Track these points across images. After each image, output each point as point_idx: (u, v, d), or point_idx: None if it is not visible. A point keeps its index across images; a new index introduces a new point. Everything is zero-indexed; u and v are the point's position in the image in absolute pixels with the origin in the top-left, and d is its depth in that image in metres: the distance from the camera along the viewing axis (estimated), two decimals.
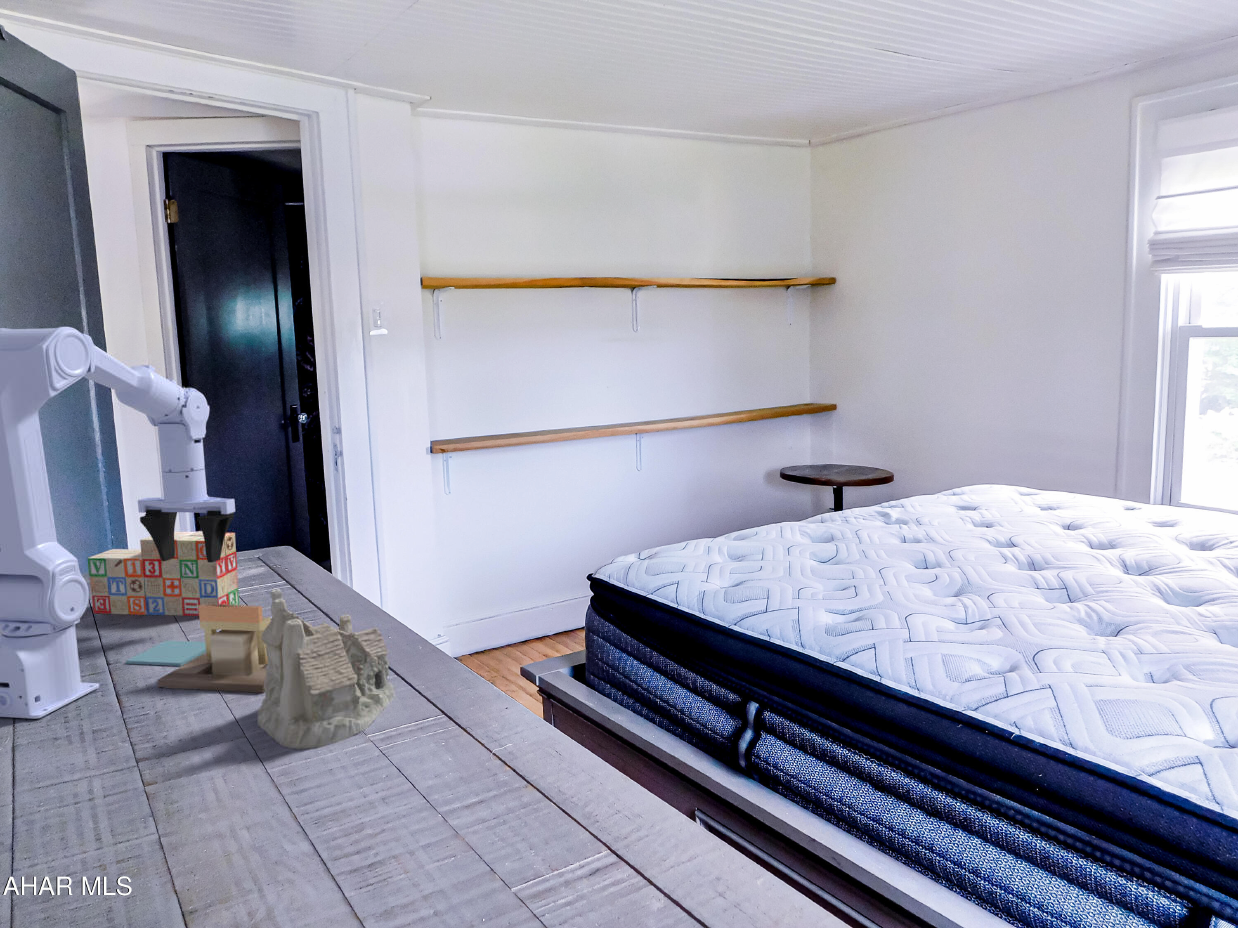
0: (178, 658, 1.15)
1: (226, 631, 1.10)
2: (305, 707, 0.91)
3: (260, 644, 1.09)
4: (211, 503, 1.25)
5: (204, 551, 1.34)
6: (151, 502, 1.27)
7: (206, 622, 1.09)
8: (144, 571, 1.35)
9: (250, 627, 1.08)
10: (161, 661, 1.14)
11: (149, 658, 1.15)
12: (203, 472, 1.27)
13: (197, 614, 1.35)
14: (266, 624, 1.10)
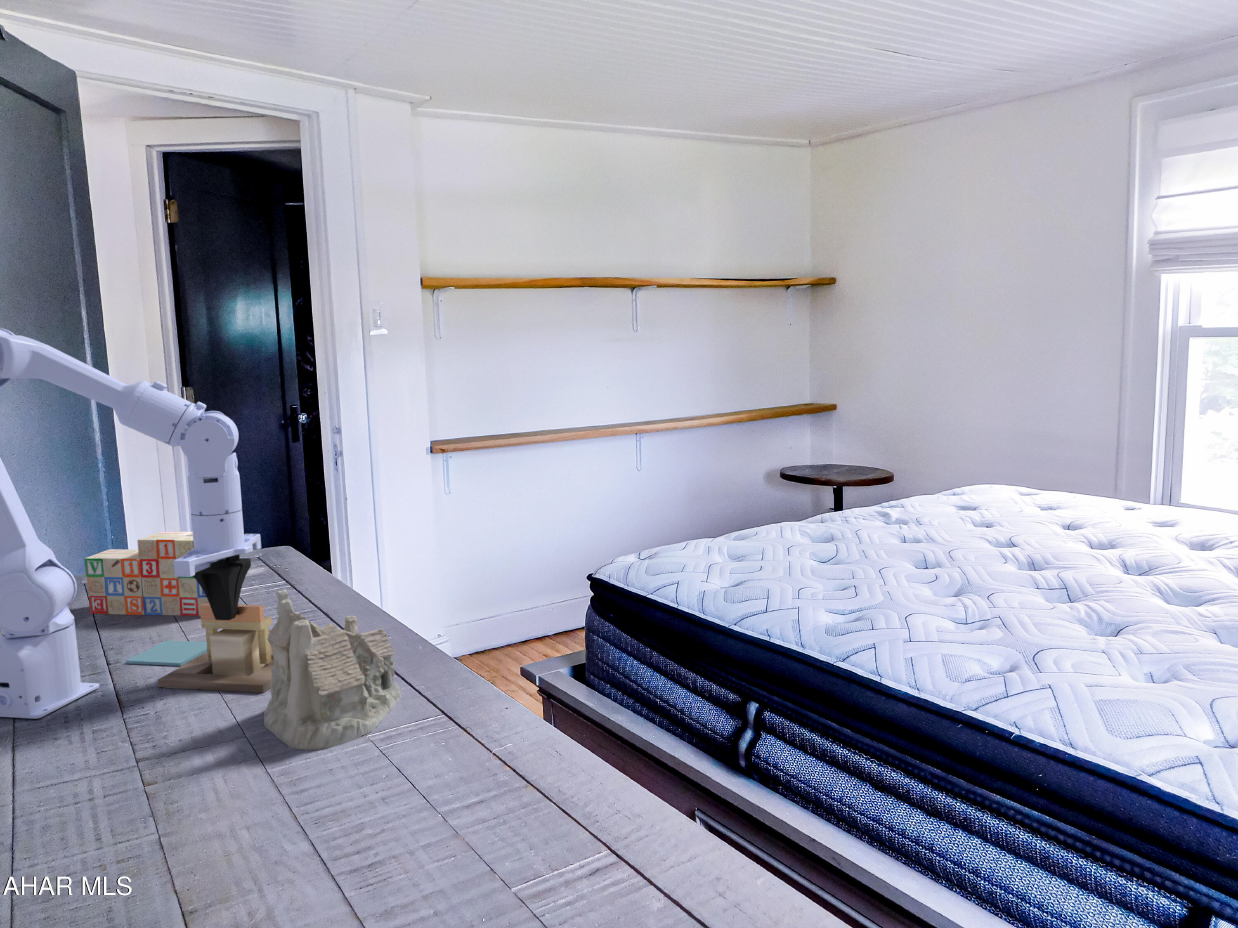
0: (178, 658, 1.15)
1: (226, 631, 1.10)
2: (313, 708, 0.91)
3: (261, 643, 1.10)
4: None
5: None
6: None
7: (208, 622, 1.10)
8: (141, 571, 1.35)
9: (251, 626, 1.09)
10: (161, 661, 1.14)
11: (149, 658, 1.15)
12: (208, 519, 1.03)
13: (195, 614, 1.35)
14: (267, 623, 1.10)
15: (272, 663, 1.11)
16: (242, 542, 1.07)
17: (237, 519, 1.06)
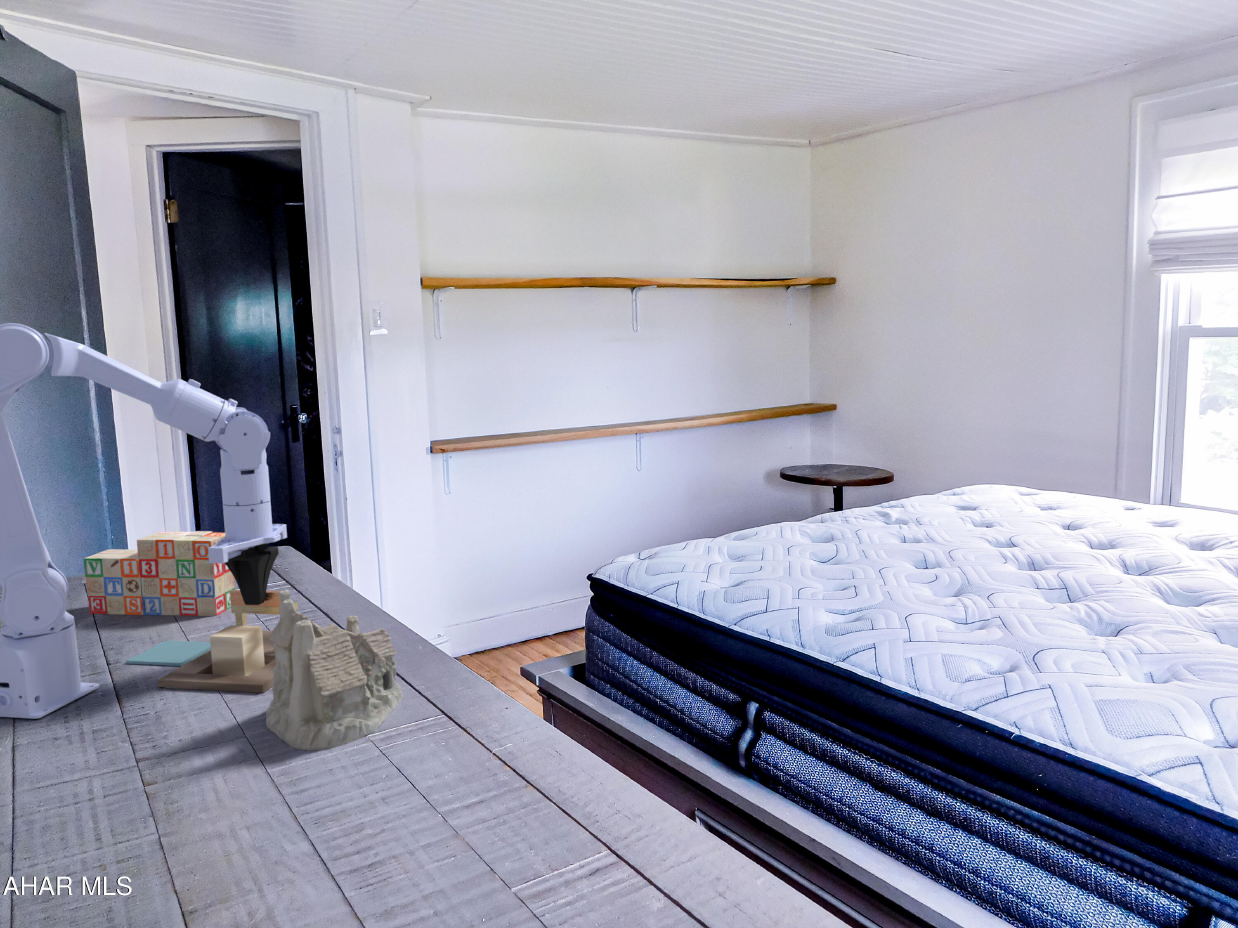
0: (178, 658, 1.15)
1: (226, 631, 1.10)
2: (315, 708, 0.91)
3: None
4: None
5: (201, 551, 1.34)
6: None
7: (237, 607, 1.16)
8: (141, 571, 1.35)
9: None
10: (161, 661, 1.14)
11: (149, 658, 1.15)
12: (239, 509, 1.10)
13: (194, 614, 1.35)
14: None
15: (272, 663, 1.11)
16: (270, 531, 1.13)
17: (266, 509, 1.12)
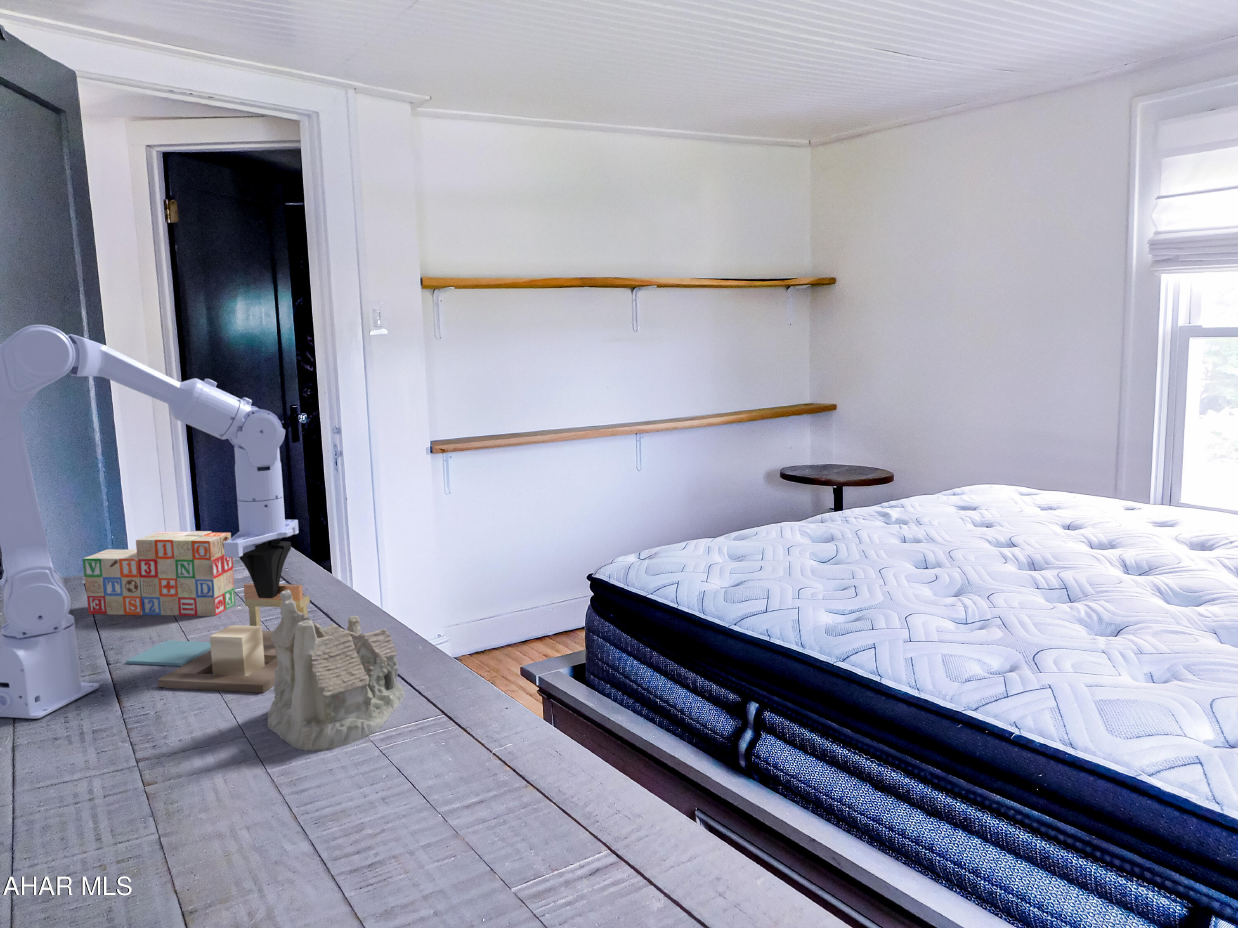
0: (178, 658, 1.15)
1: (226, 631, 1.10)
2: (317, 709, 0.91)
3: None
4: None
5: (200, 551, 1.34)
6: None
7: (251, 600, 1.19)
8: (140, 571, 1.35)
9: None
10: (161, 661, 1.14)
11: (149, 658, 1.15)
12: (253, 505, 1.13)
13: (193, 614, 1.35)
14: (306, 602, 1.19)
15: (272, 663, 1.11)
16: (283, 526, 1.16)
17: (279, 505, 1.15)
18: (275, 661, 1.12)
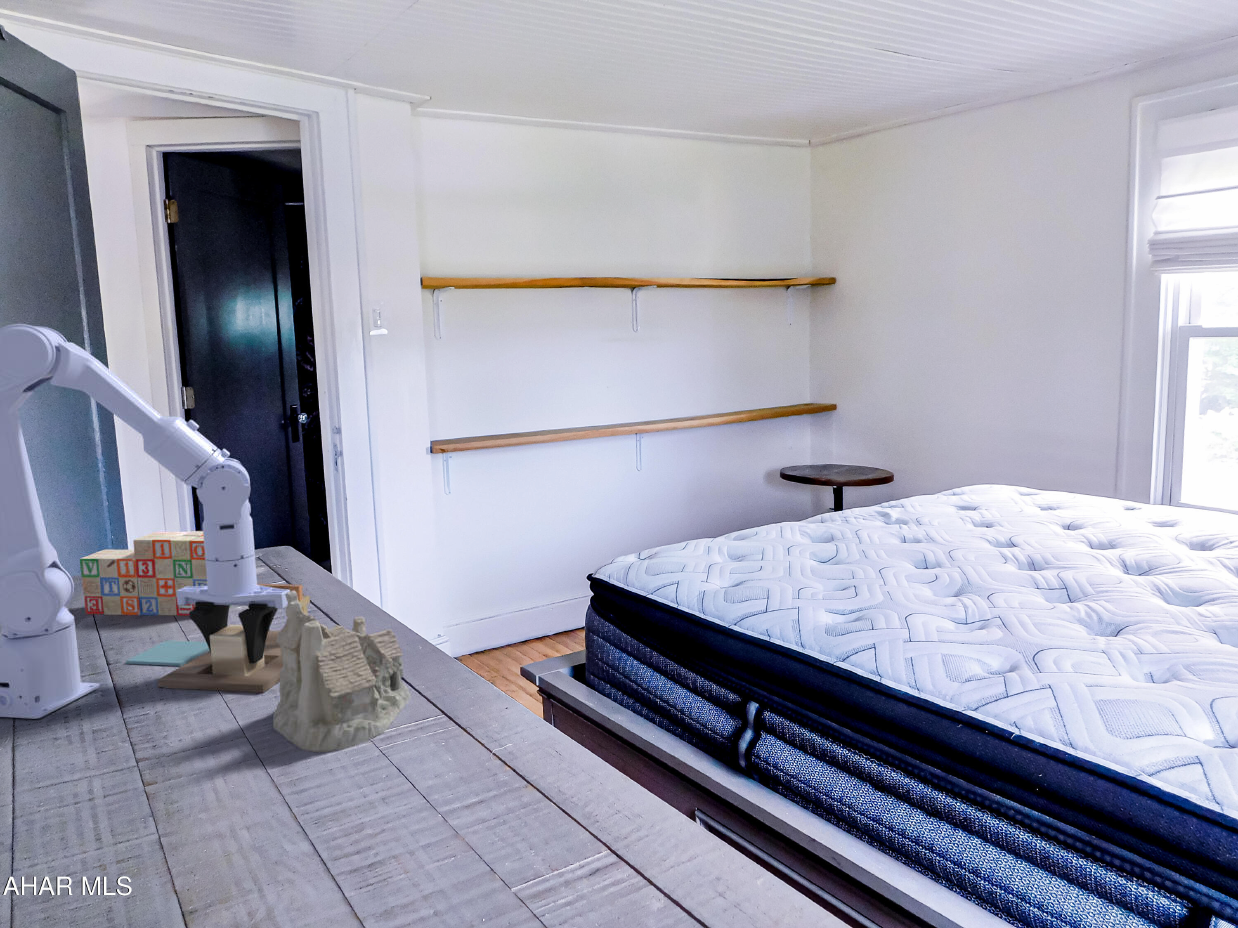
0: (178, 658, 1.15)
1: (226, 631, 1.10)
2: (324, 710, 0.90)
3: None
4: (263, 596, 1.07)
5: (198, 551, 1.34)
6: (193, 594, 1.09)
7: None
8: (137, 571, 1.35)
9: None
10: (161, 661, 1.14)
11: (149, 658, 1.15)
12: (253, 558, 1.09)
13: None
14: (306, 602, 1.19)
15: (272, 663, 1.11)
16: None
17: None
18: (275, 661, 1.12)
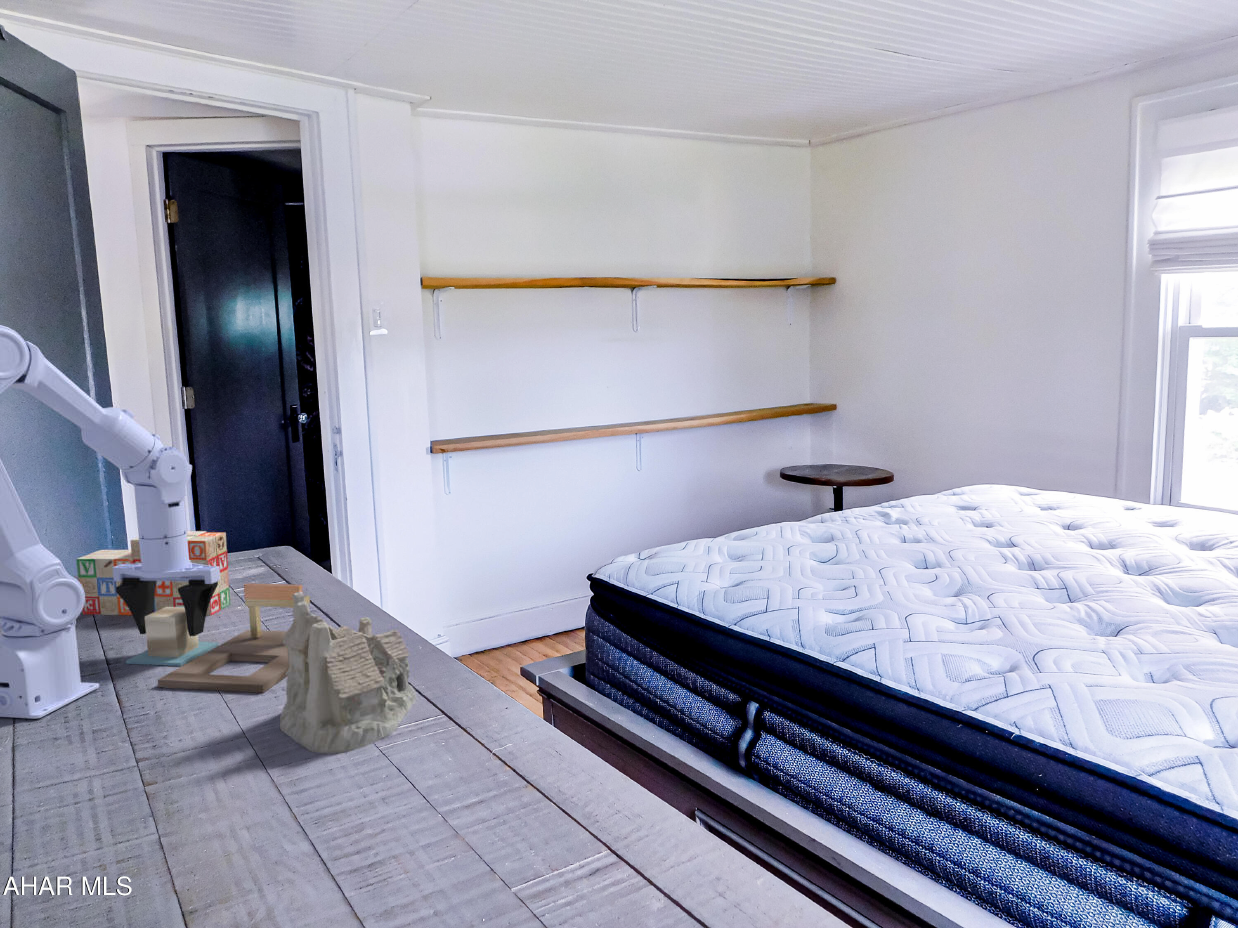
0: (178, 658, 1.15)
1: (161, 612, 1.17)
2: (332, 711, 0.90)
3: None
4: (193, 572, 1.14)
5: (196, 551, 1.34)
6: (127, 570, 1.16)
7: (251, 600, 1.19)
8: None
9: (291, 604, 1.18)
10: (161, 661, 1.14)
11: (149, 658, 1.15)
12: (185, 537, 1.16)
13: None
14: (306, 602, 1.19)
15: (272, 663, 1.11)
16: None
17: None
18: (275, 661, 1.12)
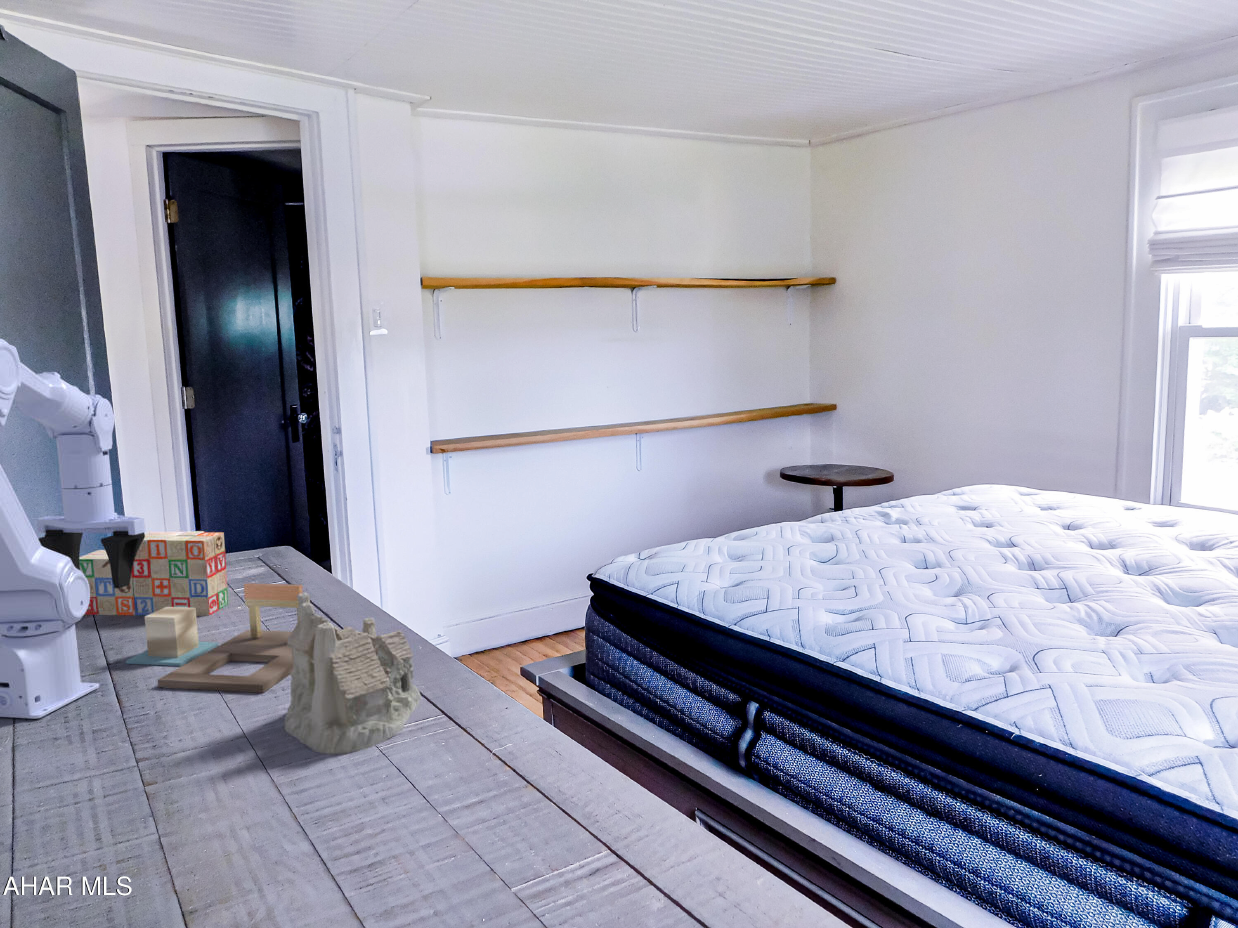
0: (178, 658, 1.15)
1: (161, 612, 1.17)
2: (338, 712, 0.90)
3: None
4: (116, 523, 1.13)
5: (194, 551, 1.34)
6: (51, 522, 1.14)
7: (251, 600, 1.19)
8: (132, 571, 1.35)
9: (291, 604, 1.18)
10: (161, 661, 1.14)
11: (149, 658, 1.15)
12: (109, 488, 1.15)
13: None
14: None
15: (272, 663, 1.11)
16: None
17: None
18: (275, 661, 1.12)
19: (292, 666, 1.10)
